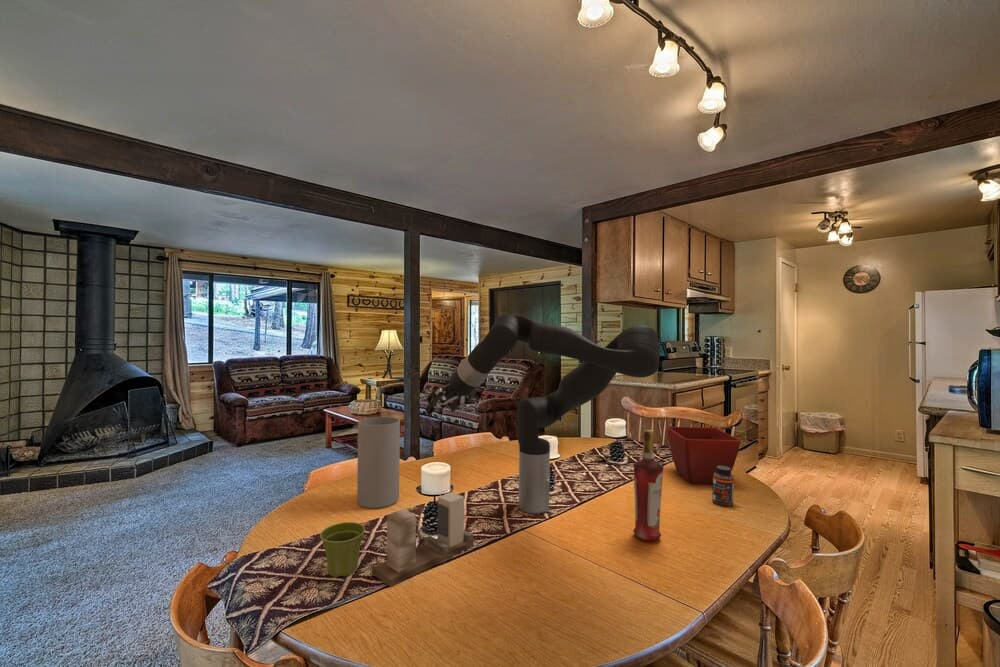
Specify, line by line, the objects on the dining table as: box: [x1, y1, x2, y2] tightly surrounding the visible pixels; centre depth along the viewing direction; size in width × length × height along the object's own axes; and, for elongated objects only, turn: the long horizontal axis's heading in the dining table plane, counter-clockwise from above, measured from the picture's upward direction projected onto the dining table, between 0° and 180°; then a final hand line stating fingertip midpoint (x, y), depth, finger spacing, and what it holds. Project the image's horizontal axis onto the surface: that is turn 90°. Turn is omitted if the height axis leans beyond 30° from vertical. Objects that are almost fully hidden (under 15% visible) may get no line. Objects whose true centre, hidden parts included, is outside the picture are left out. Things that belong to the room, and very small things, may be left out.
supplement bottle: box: [711, 466, 735, 507], centre depth 138 cm, size 6×6×11 cm
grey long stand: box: [371, 508, 474, 588], centre depth 102 cm, size 24×7×12 cm, turn 138°
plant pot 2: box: [666, 426, 741, 485], centre depth 161 cm, size 19×19×17 cm
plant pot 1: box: [319, 521, 366, 578], centre depth 97 cm, size 9×9×9 cm
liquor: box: [633, 429, 664, 543], centre depth 114 cm, size 7×7×28 cm
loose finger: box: [437, 491, 465, 548], centre depth 108 cm, size 5×4×11 cm
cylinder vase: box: [356, 416, 401, 509], centre depth 136 cm, size 12×12×25 cm
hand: (439, 410), depth 122 cm, fingers open, 8 cm apart
